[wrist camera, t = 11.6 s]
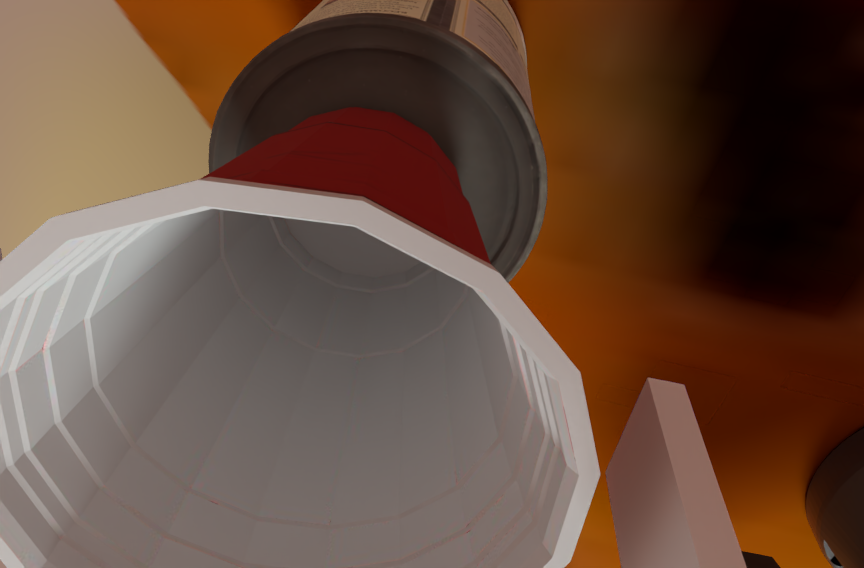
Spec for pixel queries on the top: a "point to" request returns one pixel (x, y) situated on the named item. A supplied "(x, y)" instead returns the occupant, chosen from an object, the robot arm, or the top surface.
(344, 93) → the coffee can
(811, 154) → the top surface
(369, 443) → the plastic cup
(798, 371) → the top surface
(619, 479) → the robot arm
